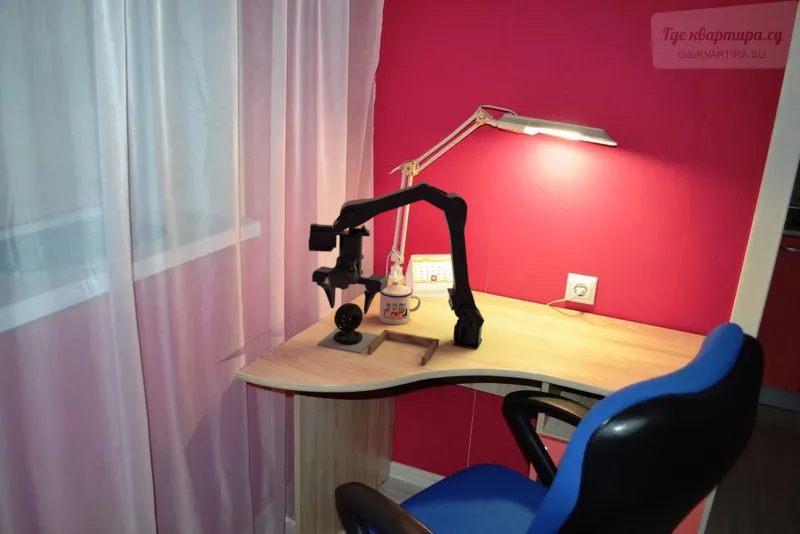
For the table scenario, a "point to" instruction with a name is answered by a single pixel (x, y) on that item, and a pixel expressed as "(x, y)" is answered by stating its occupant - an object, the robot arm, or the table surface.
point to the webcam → (348, 324)
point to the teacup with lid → (396, 303)
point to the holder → (408, 338)
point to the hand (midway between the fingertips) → (348, 310)
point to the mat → (356, 348)
